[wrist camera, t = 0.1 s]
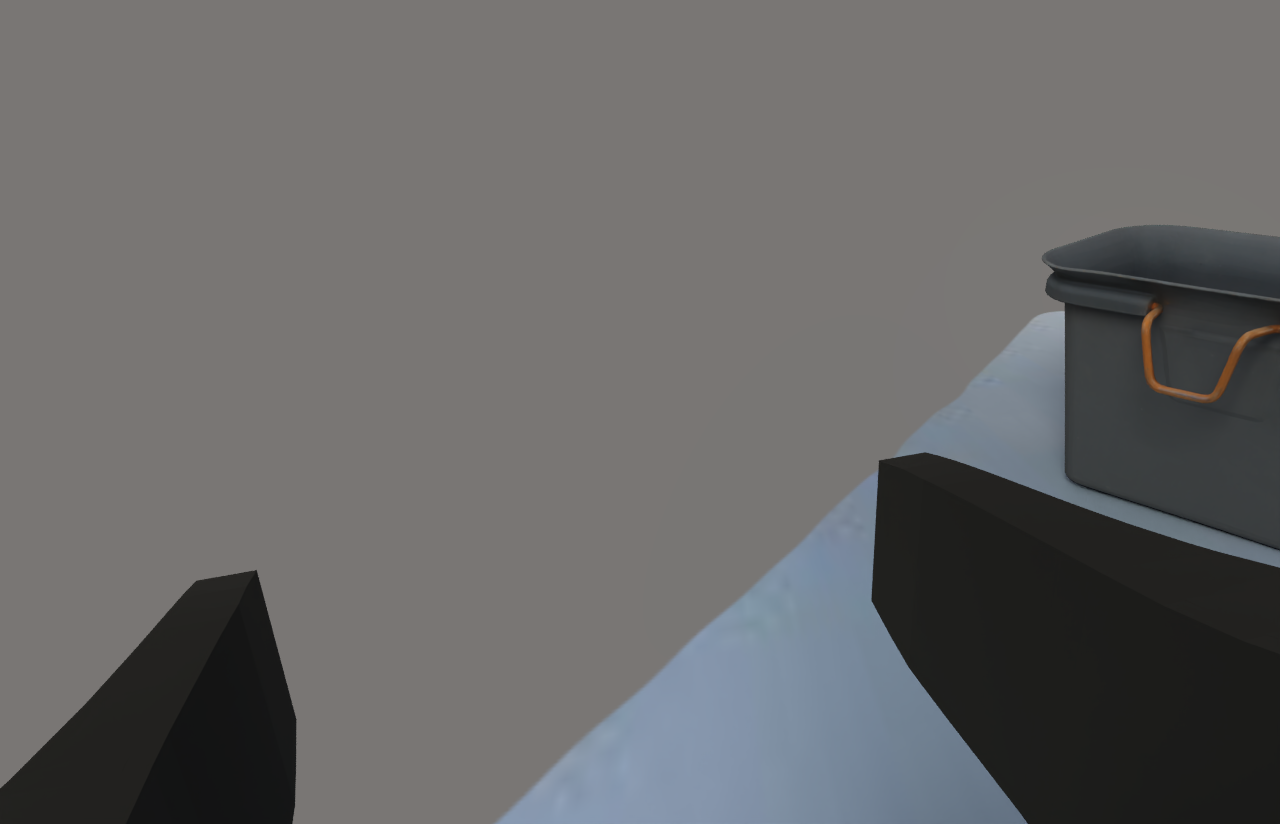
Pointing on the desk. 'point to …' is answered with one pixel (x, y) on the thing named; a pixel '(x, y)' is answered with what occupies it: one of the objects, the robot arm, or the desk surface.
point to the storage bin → (1175, 371)
